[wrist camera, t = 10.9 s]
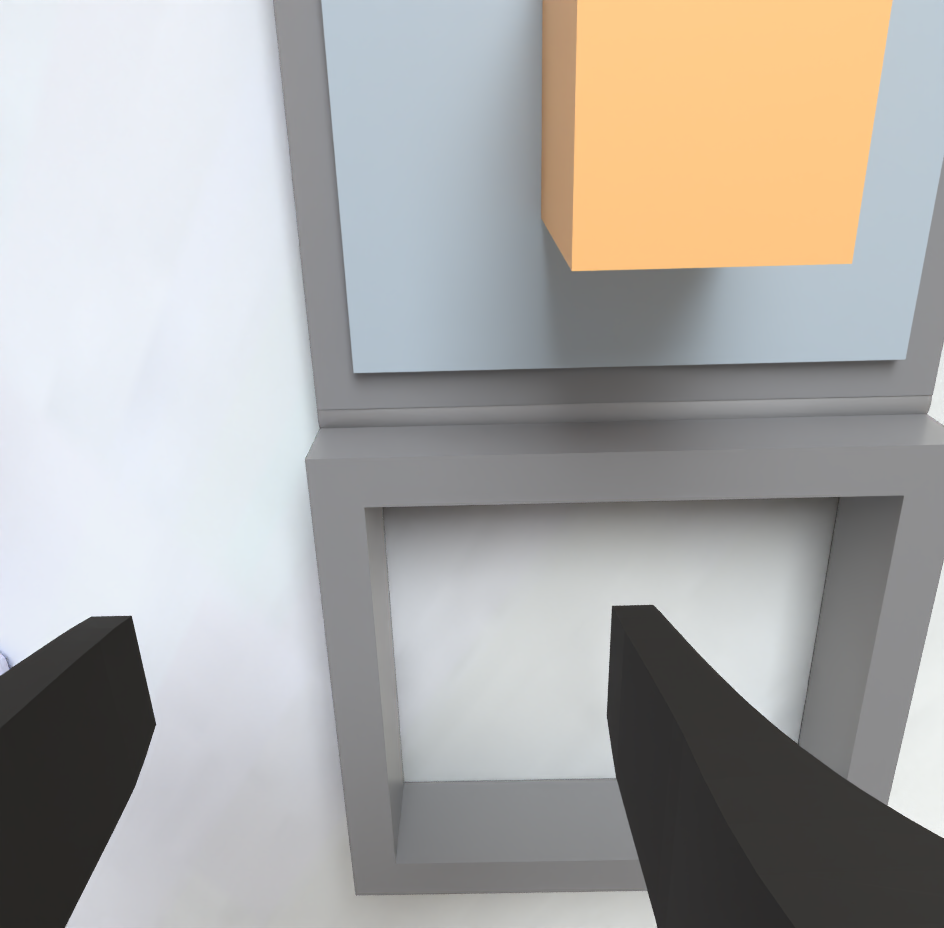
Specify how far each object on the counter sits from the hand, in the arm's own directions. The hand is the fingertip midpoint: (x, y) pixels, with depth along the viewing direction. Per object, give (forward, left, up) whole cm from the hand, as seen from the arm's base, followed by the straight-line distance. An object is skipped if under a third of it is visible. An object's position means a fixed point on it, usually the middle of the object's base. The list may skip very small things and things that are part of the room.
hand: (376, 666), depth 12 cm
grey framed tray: (+5, +1, -9) cm, 11 cm away
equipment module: (+5, +8, -8) cm, 12 cm away
